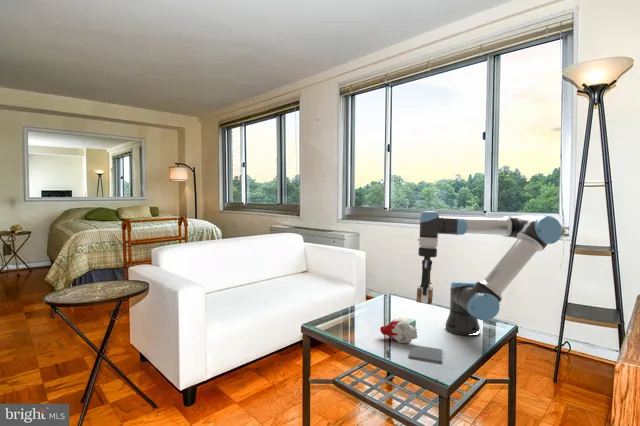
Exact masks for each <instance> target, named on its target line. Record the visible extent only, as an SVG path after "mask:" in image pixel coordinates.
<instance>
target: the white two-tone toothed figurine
mask: <svg viewBox="0 0 640 426" xmlns="http://www.w3.org/2000/svg"><path fill="white" fill-rule="evenodd" d="M379 331H380V334H382V335H384V336H385V335H386V336H389V338H391V339H392V340H393V341H397V342H398V343H399V344H410V343H411V342H412V341H413V340H416V339H418V332H417V327H416V328H414V327H413V326H411V325H409V323H408V322H407V321H406V320H403V319H399V320H398V319H397V318H395V319H392V320H391V321H390V323H388V324H387V325H384V326H383V325H382V326H380V329H379Z"/></svg>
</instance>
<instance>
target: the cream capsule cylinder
mask: <svg viewBox="0 0 640 426" xmlns="http://www.w3.org/2000/svg"><path fill="white" fill-rule="evenodd" d="M399 319H403V320H406V321H407V322H408V323H409V319H410V318H409V319H408V318H407V317H403V316H401V317H398V318H397V320H399Z"/></svg>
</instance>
